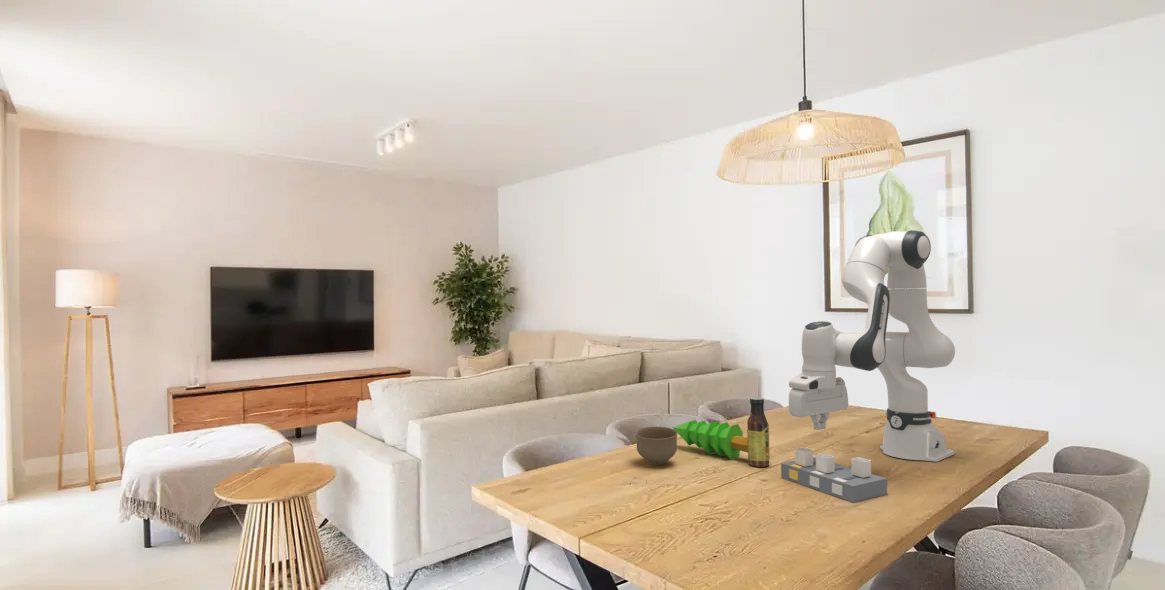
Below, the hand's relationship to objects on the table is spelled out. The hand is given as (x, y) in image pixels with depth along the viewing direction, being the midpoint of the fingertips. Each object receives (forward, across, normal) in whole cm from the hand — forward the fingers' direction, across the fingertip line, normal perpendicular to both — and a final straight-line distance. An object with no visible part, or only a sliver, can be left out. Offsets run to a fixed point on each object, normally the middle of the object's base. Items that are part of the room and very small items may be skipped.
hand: (819, 429), depth 166 cm
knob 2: (+9, +7, +7) cm, 13 cm away
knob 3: (+9, +2, +14) cm, 17 cm away
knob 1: (+9, +7, 0) cm, 11 cm away
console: (+13, +4, +7) cm, 16 cm away
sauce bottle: (+13, +7, -16) cm, 22 cm away
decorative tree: (+14, +11, -34) cm, 38 cm away
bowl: (+13, +34, -32) cm, 48 cm away
